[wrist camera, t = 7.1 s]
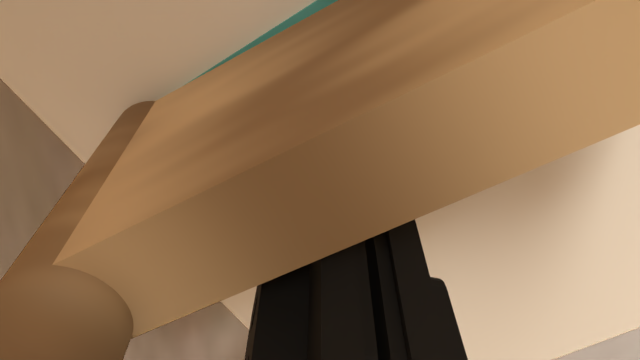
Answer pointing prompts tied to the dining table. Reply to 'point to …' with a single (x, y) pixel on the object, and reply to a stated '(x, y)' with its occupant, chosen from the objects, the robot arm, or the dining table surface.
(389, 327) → the robot arm
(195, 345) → the dining table surface
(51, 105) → the card
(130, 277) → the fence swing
